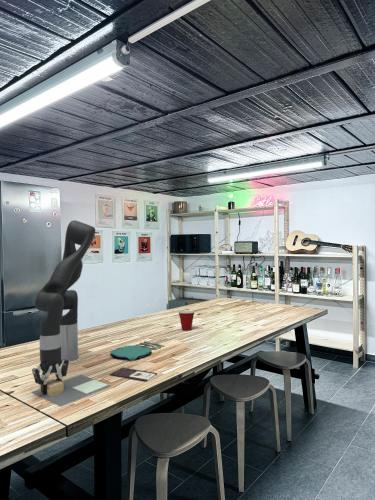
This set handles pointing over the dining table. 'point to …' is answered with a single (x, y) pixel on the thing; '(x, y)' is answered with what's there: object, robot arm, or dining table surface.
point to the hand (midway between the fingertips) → (51, 391)
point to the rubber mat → (74, 390)
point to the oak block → (54, 387)
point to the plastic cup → (186, 319)
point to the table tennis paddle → (134, 351)
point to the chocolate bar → (133, 374)
